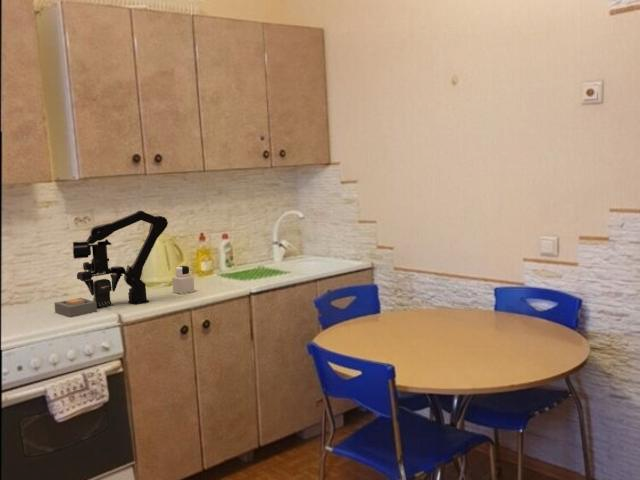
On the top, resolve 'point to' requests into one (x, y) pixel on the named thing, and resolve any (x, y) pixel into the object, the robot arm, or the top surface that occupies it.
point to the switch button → (75, 302)
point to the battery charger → (102, 292)
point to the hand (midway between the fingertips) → (103, 293)
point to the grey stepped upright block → (183, 280)
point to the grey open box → (75, 308)
